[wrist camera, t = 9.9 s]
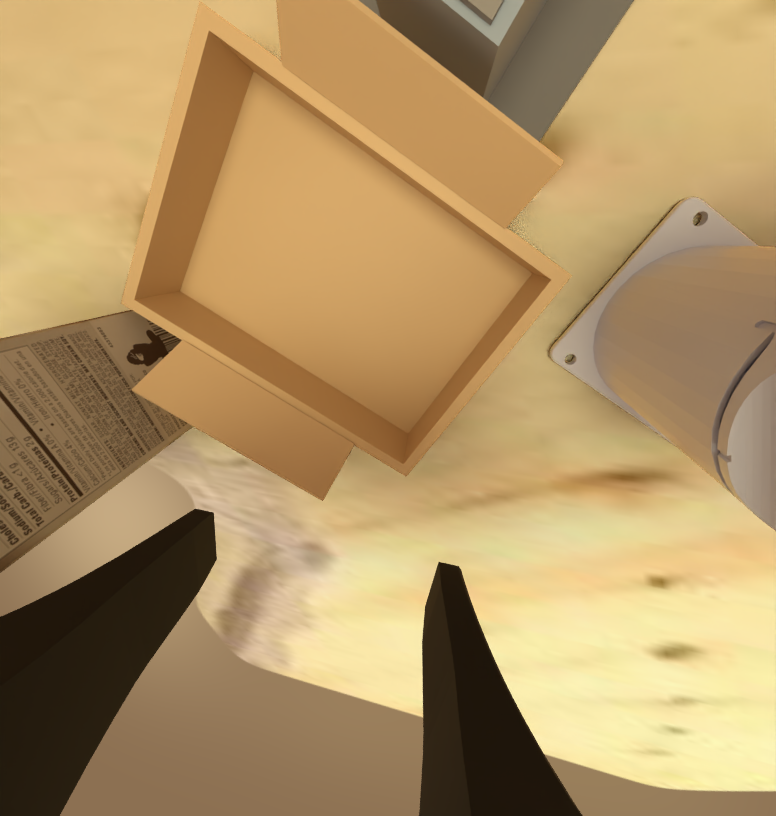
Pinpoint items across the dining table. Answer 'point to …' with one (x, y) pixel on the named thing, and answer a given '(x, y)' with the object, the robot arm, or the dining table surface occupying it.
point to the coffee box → (75, 420)
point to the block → (465, 34)
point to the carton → (333, 243)
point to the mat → (551, 59)
